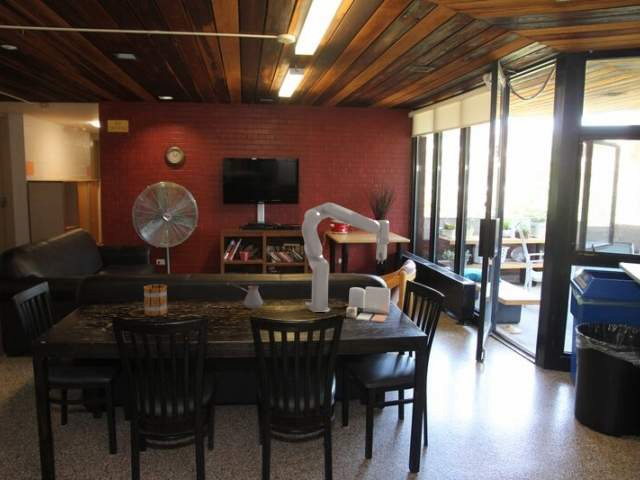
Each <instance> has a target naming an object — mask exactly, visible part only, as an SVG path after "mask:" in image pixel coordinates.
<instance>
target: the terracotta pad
mask: <svg viewBox="0 0 640 480" xmlns="http://www.w3.org/2000/svg"><path fill="white" fill-rule="evenodd" d="M373 315H374V316H372V317H371V318H370V322H372V323H384V322H385V321H386V319H387V318H388V315H380V314H373Z"/></svg>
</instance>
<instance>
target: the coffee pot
mask: <svg viewBox="0 0 640 480" xmlns="http://www.w3.org/2000/svg"><path fill="white" fill-rule="evenodd" d="M229 285H230V286H234V287H235V288H237V289H240V290H242V291H245V292H246V293H247V294H246V296H245V298H244V301H243V305H244V307H245V308H246V309H249V310H257V309H260V307H262V305H263V303H264V301H263V300H262V297H261V295H260V292H259V285H248V286H247V289H245V288H243V287H241V286H240V285H237V284H234V283H233V282H230V281H229V282H228V283H227V286H229Z"/></svg>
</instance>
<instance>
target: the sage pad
mask: <svg viewBox="0 0 640 480" xmlns="http://www.w3.org/2000/svg"><path fill="white" fill-rule="evenodd" d="M373 315H374V314H371V313H362V312H360V313H359V314H357V316H356V317H355V320H357V321H365V322H369V320H371V319H372V318H373V317H374V316H373Z"/></svg>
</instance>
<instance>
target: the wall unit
mask: <svg viewBox="0 0 640 480" xmlns="http://www.w3.org/2000/svg"><path fill="white" fill-rule="evenodd" d="M364 290H365V308H364V309H363V310H362V311H361V313H366V314H373V315H385V316H390V315H391V314H392V311H393V310H391V309H390V308H391V307H390V306H391V288H387V287H378V286H377V287H376V286H366V287H365V289H364Z"/></svg>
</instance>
